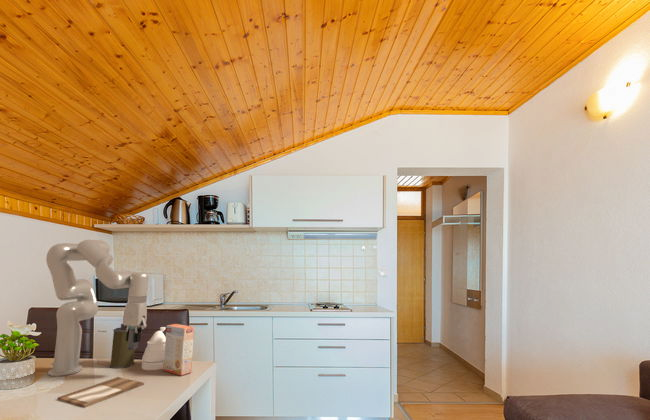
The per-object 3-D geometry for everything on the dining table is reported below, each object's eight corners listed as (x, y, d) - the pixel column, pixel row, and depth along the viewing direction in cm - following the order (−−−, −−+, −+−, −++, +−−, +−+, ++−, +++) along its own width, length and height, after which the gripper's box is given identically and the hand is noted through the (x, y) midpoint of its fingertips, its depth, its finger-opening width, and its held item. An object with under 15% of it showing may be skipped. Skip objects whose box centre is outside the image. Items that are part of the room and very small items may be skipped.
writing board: (57, 399, 127) (57, 396, 127) (117, 378, 149) (118, 376, 149) (84, 407, 121) (85, 404, 121) (143, 384, 143) (143, 382, 143)
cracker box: (192, 372, 158) (195, 326, 161) (180, 376, 153) (183, 328, 156) (174, 367, 165) (177, 323, 168) (162, 370, 160) (165, 324, 163)
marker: (124, 349, 152) (127, 321, 154) (133, 346, 156) (136, 319, 158) (131, 350, 150) (134, 322, 152) (139, 348, 154) (142, 320, 156)
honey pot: (162, 360, 176) (165, 324, 179) (175, 365, 168) (177, 327, 171) (136, 366, 166) (140, 328, 169) (148, 372, 158) (151, 332, 161)
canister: (126, 368, 163) (130, 325, 165) (104, 368, 163) (109, 325, 165) (139, 361, 173) (142, 321, 176) (118, 361, 173) (122, 320, 176)
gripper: (117, 299, 156) (112, 340, 153) (143, 302, 149) (138, 345, 147) (132, 297, 163) (127, 337, 160) (157, 300, 156) (153, 341, 154)
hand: (133, 340), depth 154 cm, fingers closed on marker, 4 cm apart
